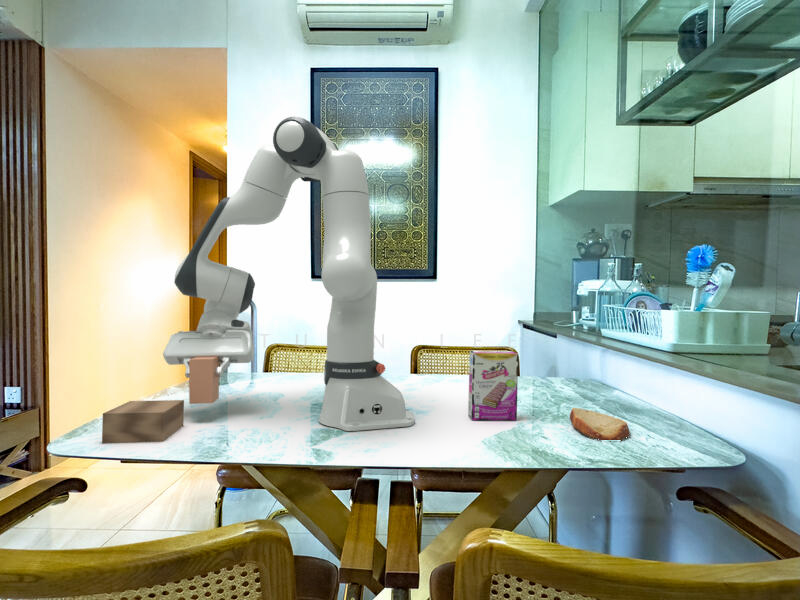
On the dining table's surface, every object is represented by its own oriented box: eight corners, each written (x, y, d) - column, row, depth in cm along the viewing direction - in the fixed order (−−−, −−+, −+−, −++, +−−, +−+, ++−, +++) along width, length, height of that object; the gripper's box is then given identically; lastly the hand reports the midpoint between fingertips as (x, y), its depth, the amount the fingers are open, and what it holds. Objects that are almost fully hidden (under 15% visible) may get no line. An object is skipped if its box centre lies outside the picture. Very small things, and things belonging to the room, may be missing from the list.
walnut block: (183, 427, 95) (183, 400, 95) (163, 443, 84) (163, 412, 84) (129, 428, 93) (130, 400, 93) (101, 444, 82) (102, 413, 82)
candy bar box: (472, 421, 102) (472, 352, 102) (467, 415, 107) (468, 350, 107) (518, 421, 102) (519, 352, 102) (512, 415, 107) (512, 350, 107)
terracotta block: (218, 398, 102) (218, 356, 102) (212, 403, 97) (212, 359, 97) (196, 399, 102) (196, 356, 102) (189, 403, 97) (189, 359, 97)
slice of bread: (578, 415, 110) (578, 400, 110) (653, 432, 96) (653, 415, 96) (535, 425, 100) (535, 409, 100) (611, 446, 85) (611, 428, 85)
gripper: (169, 323, 105) (151, 368, 95) (255, 322, 108) (246, 366, 98) (176, 340, 109) (159, 385, 100) (258, 338, 112) (250, 382, 102)
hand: (203, 375), depth 99 cm, fingers closed on terracotta block, 5 cm apart
